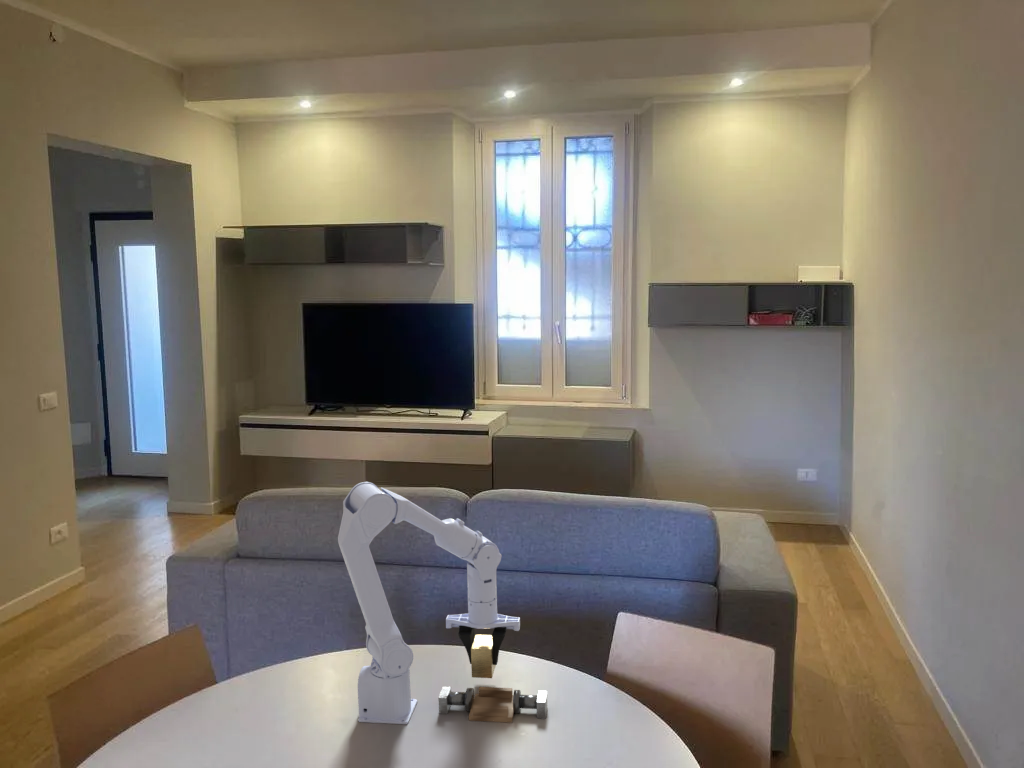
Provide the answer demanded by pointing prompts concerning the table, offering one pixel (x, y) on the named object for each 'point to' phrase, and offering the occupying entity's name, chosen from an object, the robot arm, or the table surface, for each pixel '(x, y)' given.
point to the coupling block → (482, 657)
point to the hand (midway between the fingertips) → (484, 662)
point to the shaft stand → (492, 703)
